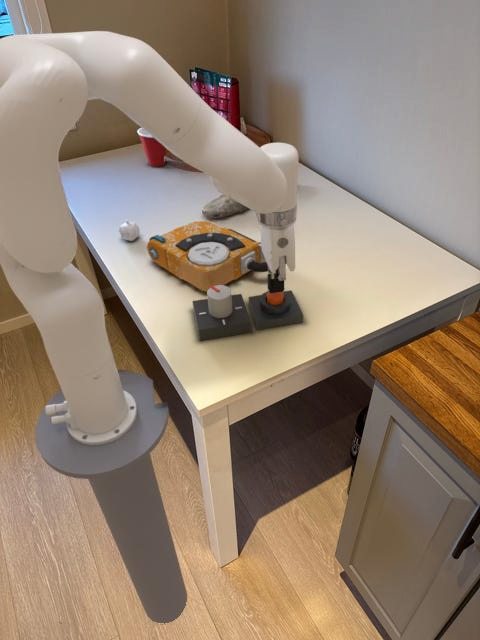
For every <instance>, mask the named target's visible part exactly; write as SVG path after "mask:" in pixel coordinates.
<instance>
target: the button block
mask: <svg viewBox="0 0 480 640" xmlns="http://www.w3.org/2000/svg"><path fill="white" fill-rule="evenodd" d="M268 291H269V290H267V291H264V292H263V293H262V294H259V295H252V296H248V306H249V309H250V312H251V315H252V318H253V320H254V321H253V322H254V323H255V327H256V329H257V330H265V329H272V328H278V327H283V326H290V325H297V324H302V323H303V322H304V314H303V311H302V309H301V307H300V304H299V303H298V301H297V298H296V296H295V294H294V293H293V290H291V289H290V290H284V291H283V293H284V301H283V303H282V304H280V305H271V304H269V303H268V302H267V292H268Z"/></svg>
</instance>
